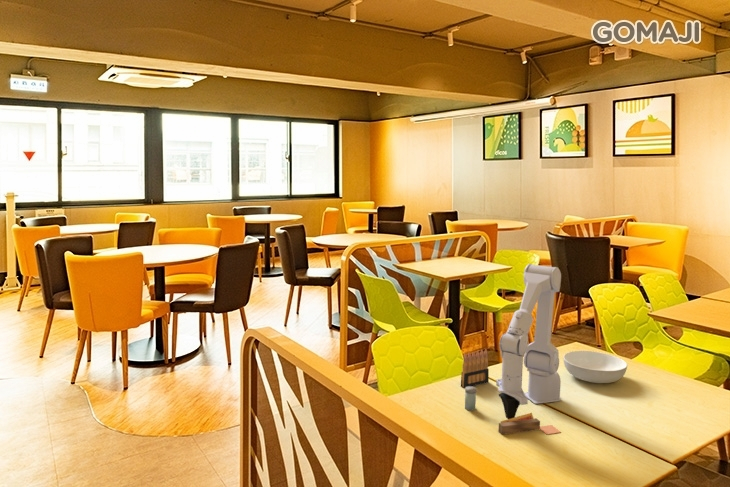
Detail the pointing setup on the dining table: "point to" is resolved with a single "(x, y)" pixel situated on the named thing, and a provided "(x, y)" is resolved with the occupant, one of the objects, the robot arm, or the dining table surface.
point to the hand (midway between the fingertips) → (510, 418)
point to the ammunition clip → (475, 370)
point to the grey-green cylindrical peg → (470, 398)
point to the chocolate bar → (519, 418)
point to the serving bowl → (594, 366)
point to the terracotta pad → (549, 429)
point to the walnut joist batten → (519, 426)
